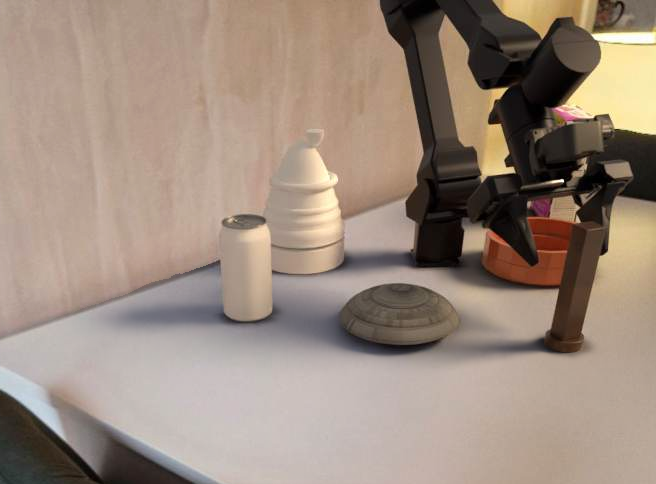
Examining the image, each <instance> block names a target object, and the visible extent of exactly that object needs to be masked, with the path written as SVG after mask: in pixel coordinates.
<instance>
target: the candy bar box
mask: <svg viewBox="0 0 656 484" xmlns="http://www.w3.org/2000/svg"><path fill="white" fill-rule="evenodd" d="M552 110H553V113H554V116H555V119H556V123H557V126H563V125H569V124H574V123H582V122H586V120H587V119H589V118H594V115H591V114H589V112H586V110H584V109H582V108H581V107H579V106H578V105H577V104H574V103H573V104H569V103H568V104H566V103H565V104H563V105H562V106H560V107H557V108H552ZM589 158H590V156H588V157H586V158H583V162H584V165H583V166H582V167H581V168H580V169H579V170H576V171H574V172H573V173H572V175H573V177H572V178H574V177H581V176H583V175H584V174H585V173H586V172H587V168H588V163H589ZM579 208H580V207H579V206H578V205H576V204H575V203H574V200H573V197H572V196H566V197H559V198H551V199H544V200H537V201H530V205H529V209H530V210H531V211H532V212H533V213H534V214H535V215H536V217H546V218H557V219H563V220H569V221H573V222H577V220H576V219H577V218H578V216H577V214H576V211H577V210H578V209H579Z"/></svg>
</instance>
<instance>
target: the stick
mask: <svg viewBox="0 0 656 484" xmlns="http://www.w3.org/2000/svg"><path fill="white" fill-rule="evenodd" d="M605 231H606V227H604V226H602V225H600V224H597V223H595V222H593V221H589V222H582V223H581V222H577V223H575V224H573V226H572V231H571V236H570V240H569V245H568V250H567V255H566V259H565V264H564V269H563V274H562V278H561V283H560V285H559V288H558V293H557V298H556V303H555V307H554V312H553V315H552V321H551V326H550V329H548V330H546V332H545V335H544V339H543V344H544V346H545V347H546V348H548V349H550V350H552V351H555V352H559V353H575V352H578V351H580V350H581V349H582V348H583V345H584V342H585V335H584V333H583V332H582V331H583V328H584V323H585V319H586V315H587V311H588V307H589V302H590V298H591V294H592V290H593V285H594V281H595V277H596V273H597V269H598V265H599V260H600V257H601V256H600V252H601V248H602V244H603V240H604V236H605Z"/></svg>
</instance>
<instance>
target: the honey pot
mask: <svg viewBox="0 0 656 484" xmlns="http://www.w3.org/2000/svg"><path fill="white" fill-rule="evenodd" d="M325 133H326V131H325V129H322V128H309V129H307V130H305V135H306V138H307V139H306V140H304V139H300V140H297V141H294V143H292V145H290V146H289V147H288V149H287V150H286V151H285V153H284V155H283V157H282V158H281V161H280V163H279V165H278V168H277V170H276V172H274V173H272V174H271V175H270V176H269V178H268V183H269V185H270V186H271V187H270V190H269V193H268V197H267V198H266V200H265V202H264V205H265V207H264V210H263V212H262V216H263V217H264V218H266V220H267V222H266V224H267V227H268V229H269V231H270V237H271V267H272V272H273V271H274V272H278V273H281V274H282V273H283V274H290V275H309V274H319V273H324V272H327V271H331V270H334V269H336V268H337V267H339V266H341V265H342V264H343V262H344V260H345V233H346V232H345V227H346V224H345V221H344V219H343V217H342V215H341V214H342V211H341V209H340V206H339V201H340V200H339V199H338V198H337V196H336V192H335V189H334V187H335V186H336V185H337V184H338V182H339V177H338V175H337V174H336V173H335V172H333V171H332V170H328V169H327V167H326V165H325V162H324V160H323V158H322V157H321V155H320V154H319V152H318V150H317V149H316V147H318V146H320V145H321V143H322V141H323V140H324V137H325Z"/></svg>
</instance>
